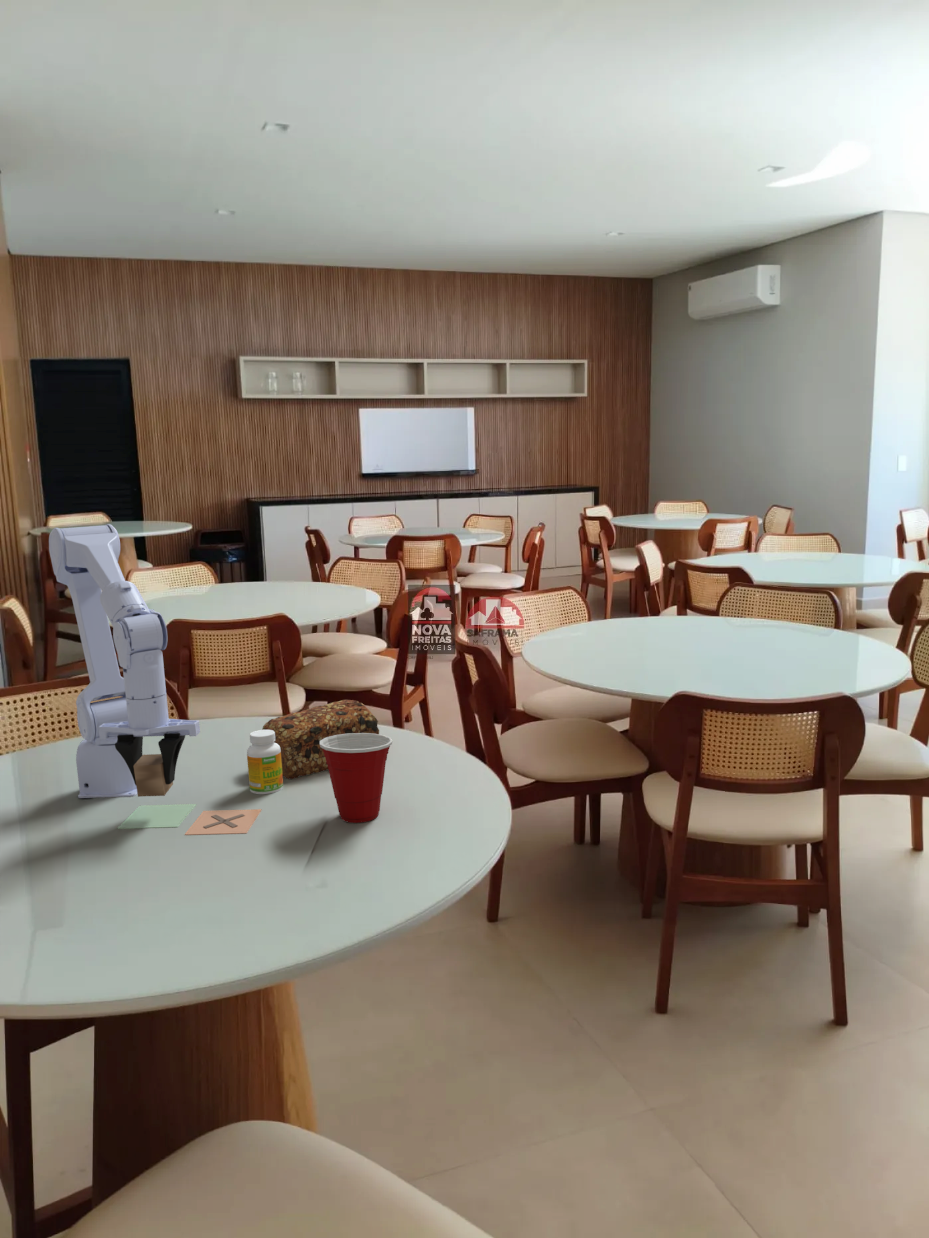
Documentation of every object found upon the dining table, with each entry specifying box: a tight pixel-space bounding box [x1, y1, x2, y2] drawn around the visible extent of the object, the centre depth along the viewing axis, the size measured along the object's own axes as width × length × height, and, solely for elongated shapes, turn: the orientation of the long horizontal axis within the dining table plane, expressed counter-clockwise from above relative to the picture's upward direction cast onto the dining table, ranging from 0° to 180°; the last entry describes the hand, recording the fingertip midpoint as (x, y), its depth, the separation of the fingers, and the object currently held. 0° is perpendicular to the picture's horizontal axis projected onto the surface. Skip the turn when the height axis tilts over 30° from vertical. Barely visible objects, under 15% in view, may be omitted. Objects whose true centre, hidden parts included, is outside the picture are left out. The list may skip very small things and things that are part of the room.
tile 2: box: [184, 808, 263, 836], centre depth 136 cm, size 9×9×1 cm
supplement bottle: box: [246, 729, 284, 795], centre depth 148 cm, size 5×5×10 cm
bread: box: [261, 699, 380, 780], centre depth 162 cm, size 19×11×10 cm, turn 126°
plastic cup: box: [320, 733, 393, 824], centre depth 136 cm, size 11×11×12 cm
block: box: [134, 753, 174, 797], centre depth 137 cm, size 4×4×5 cm
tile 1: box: [116, 803, 197, 830], centre depth 139 cm, size 9×9×1 cm
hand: (154, 782), depth 138 cm, fingers closed on block, 4 cm apart
